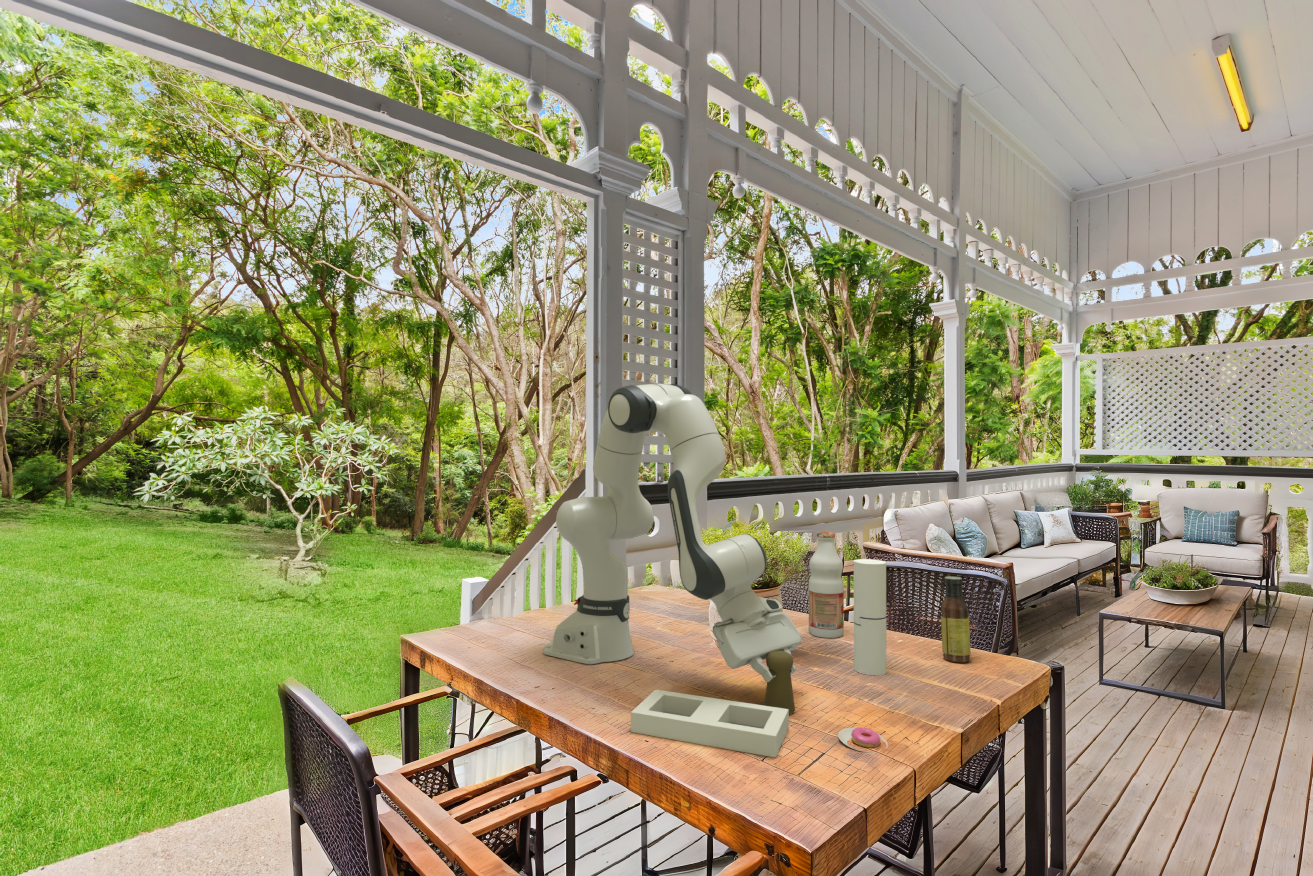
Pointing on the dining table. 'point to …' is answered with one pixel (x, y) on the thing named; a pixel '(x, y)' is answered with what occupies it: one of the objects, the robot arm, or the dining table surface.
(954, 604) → the sauce bottle
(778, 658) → the olive knobbed peg
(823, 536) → the fruit juice
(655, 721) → the socket rail
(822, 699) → the dining table surface
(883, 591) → the cylindrical container
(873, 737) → the donut
